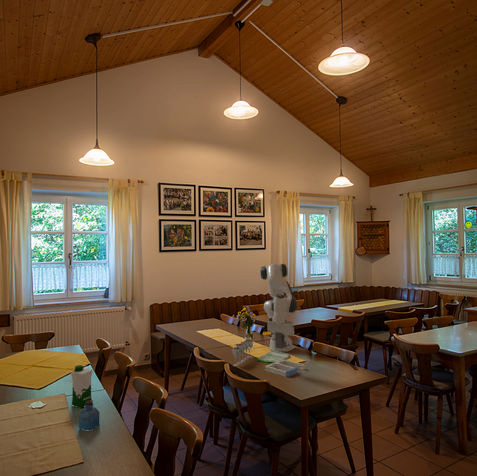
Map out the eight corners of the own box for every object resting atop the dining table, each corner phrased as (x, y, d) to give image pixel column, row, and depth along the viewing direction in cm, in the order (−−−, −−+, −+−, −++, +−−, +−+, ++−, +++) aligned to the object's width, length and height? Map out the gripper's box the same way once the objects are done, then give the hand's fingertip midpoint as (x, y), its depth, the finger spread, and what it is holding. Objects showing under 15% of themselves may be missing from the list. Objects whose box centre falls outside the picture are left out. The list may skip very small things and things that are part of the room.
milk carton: (81, 400, 204) (82, 363, 204) (94, 403, 200) (94, 365, 201) (69, 406, 196) (69, 368, 196) (82, 409, 192) (82, 370, 193)
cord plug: (280, 346, 252) (280, 331, 252) (286, 347, 248) (286, 332, 248) (275, 347, 248) (275, 332, 248) (281, 348, 244) (281, 333, 245)
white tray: (284, 363, 265) (284, 358, 265) (306, 369, 251) (306, 364, 251) (264, 370, 250) (264, 365, 251) (287, 377, 237) (287, 371, 237)
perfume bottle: (78, 429, 171) (79, 403, 171) (88, 423, 177) (88, 398, 177) (89, 432, 169) (89, 405, 169) (99, 425, 174) (99, 399, 175)
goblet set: (238, 366, 259) (238, 347, 260) (230, 365, 262) (230, 346, 262) (254, 356, 285) (254, 338, 285) (247, 355, 287) (247, 337, 287)
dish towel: (290, 357, 282) (290, 352, 282) (276, 365, 262) (276, 360, 262) (270, 354, 291) (270, 349, 291) (255, 362, 272) (255, 357, 272)
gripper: (296, 320, 243) (296, 342, 243) (271, 316, 258) (272, 337, 258) (290, 322, 239) (290, 343, 239) (265, 318, 253) (266, 338, 253)
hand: (280, 340), depth 248 cm, fingers closed on cord plug, 5 cm apart
